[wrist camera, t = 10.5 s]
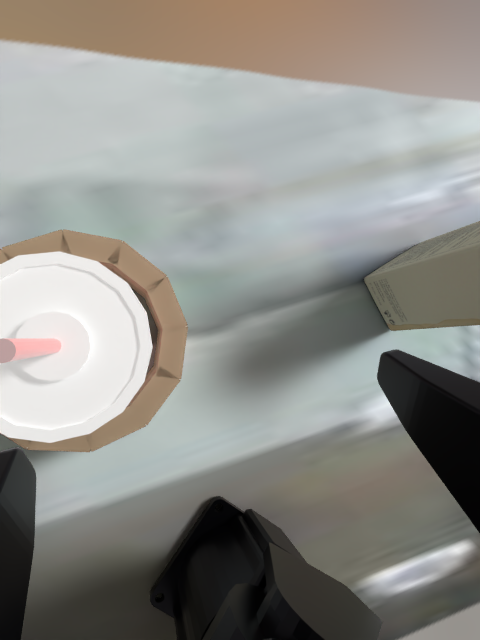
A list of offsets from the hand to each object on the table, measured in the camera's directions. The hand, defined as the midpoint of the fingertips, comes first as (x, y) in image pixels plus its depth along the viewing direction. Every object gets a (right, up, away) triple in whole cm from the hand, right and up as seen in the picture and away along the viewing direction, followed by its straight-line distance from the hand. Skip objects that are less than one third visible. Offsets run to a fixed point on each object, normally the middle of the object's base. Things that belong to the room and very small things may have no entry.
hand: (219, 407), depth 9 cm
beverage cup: (-8, +1, +12) cm, 14 cm away
